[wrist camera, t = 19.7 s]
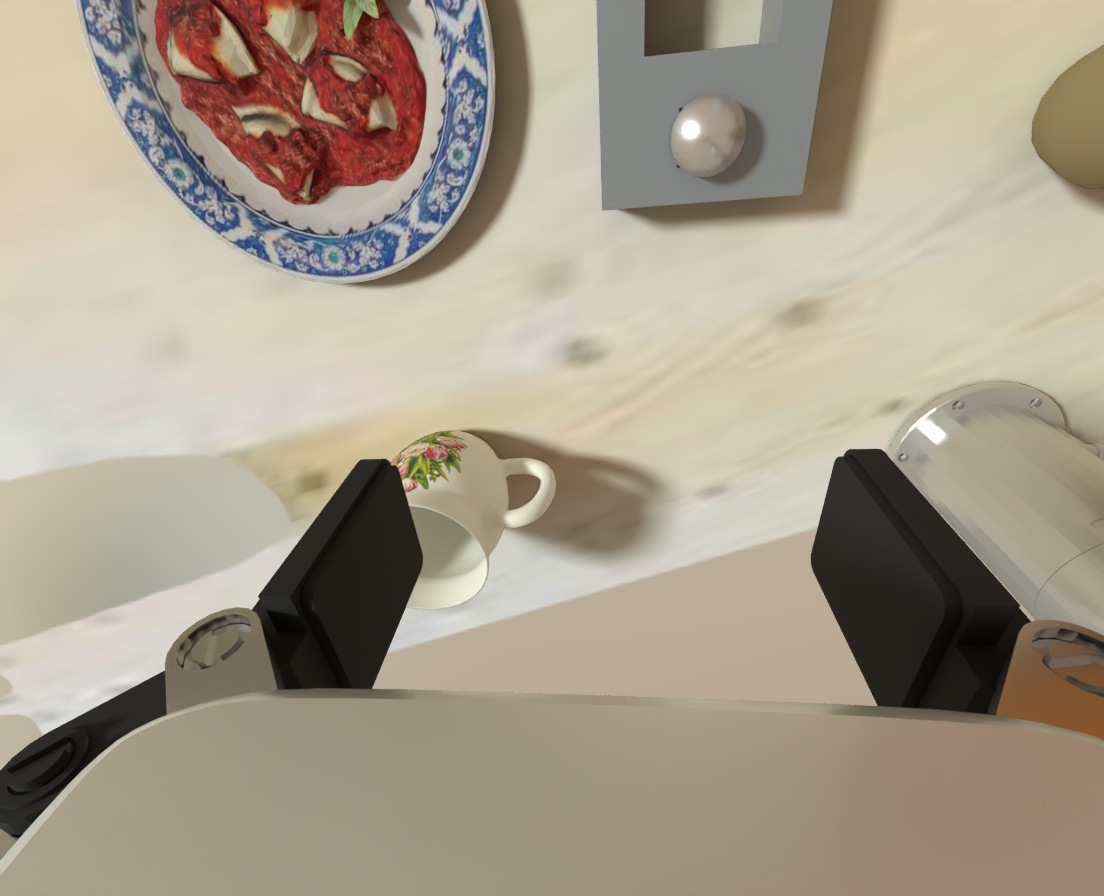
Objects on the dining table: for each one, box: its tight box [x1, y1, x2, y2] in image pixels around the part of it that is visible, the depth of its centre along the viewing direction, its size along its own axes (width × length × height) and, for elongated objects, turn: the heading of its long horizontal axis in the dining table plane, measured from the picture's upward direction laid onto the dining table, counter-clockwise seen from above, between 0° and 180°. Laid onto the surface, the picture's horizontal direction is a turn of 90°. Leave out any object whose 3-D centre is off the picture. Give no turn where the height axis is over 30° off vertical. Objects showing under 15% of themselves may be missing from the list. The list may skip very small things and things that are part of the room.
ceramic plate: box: [75, 0, 496, 284], centre depth 32 cm, size 26×26×3 cm
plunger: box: [670, 93, 746, 177], centre depth 30 cm, size 4×4×4 cm
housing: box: [597, 0, 833, 210], centre depth 29 cm, size 16×12×4 cm
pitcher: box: [391, 430, 556, 610], centre depth 42 cm, size 11×18×14 cm, turn 108°
